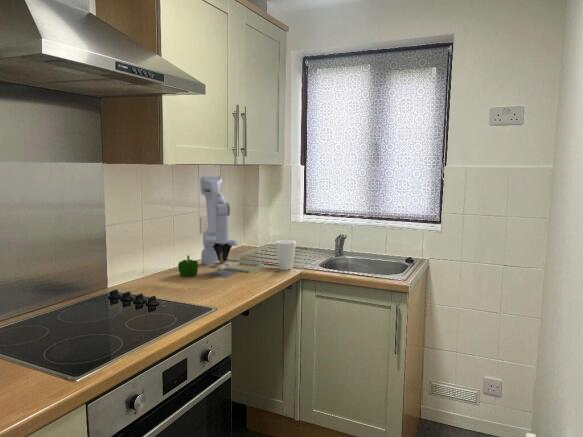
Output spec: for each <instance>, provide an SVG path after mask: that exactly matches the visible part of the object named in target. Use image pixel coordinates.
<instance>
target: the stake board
mask: <svg viewBox="0 0 583 437" xmlns="http://www.w3.org/2000/svg"><path fill="white" fill-rule="evenodd" d="M238 273H240V271H232V270H224V269H217V270H215V271H212V272H210V273H207V274H204V275H205V277H216V278H223V279H227V278H230V277H232V276H234V275H236V274H238Z"/></svg>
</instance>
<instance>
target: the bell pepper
mask: <svg viewBox="0 0 583 437" xmlns="http://www.w3.org/2000/svg"><path fill="white" fill-rule="evenodd" d="M198 270H199V262H198V260H195V259H190V255H187V256H186V259H183V260H181V261H179V262H178V273H179V275H180V277H182V278H193V277H194V278H195V277H196V276H197V275H198Z"/></svg>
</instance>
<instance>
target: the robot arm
mask: <svg viewBox="0 0 583 437" xmlns="http://www.w3.org/2000/svg"><path fill="white" fill-rule="evenodd" d="M199 181H200V182H199V184H200V192H201V195H203V196H204V198H205V205H206V218H207V229H206V230H205V231H204V232H203V234H202V245H203V248H202V251H201V253H200V254H201V257H200V258H201V264H202V265H206V266H207V265H208V264H211V263H213V262H216V261H220V254H221V253H223V261H226V262H228V258H229V253H230V252H231V249H232V247H237V246H238V240H233V239H230V238H229V237H230V234H229V233H230V232H229V231H230V230H229V229H230V228H229V227H230V226H229V217H230V214H231V208H230V204H229V203H228V202H226V198H225V196H224V194H223V193H221V190H222V187H223V179H222V177H221V176H220V175H218V176H216V175H215V176H201V177H200V179H199Z"/></svg>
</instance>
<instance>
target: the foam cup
mask: <svg viewBox="0 0 583 437" xmlns="http://www.w3.org/2000/svg"><path fill="white" fill-rule="evenodd" d="M296 244H297V242H296V240H289V239H284V240H283V239H282V240H277V241H275V247H276V249H275V250H276V255H277V262H278V267H279V268H278V269H279V270H281V271H289V270H288V269H291V270H293V269H292V268H293V267H294V259H295V253H296V251H295V250H296V247H297V245H296Z"/></svg>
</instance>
